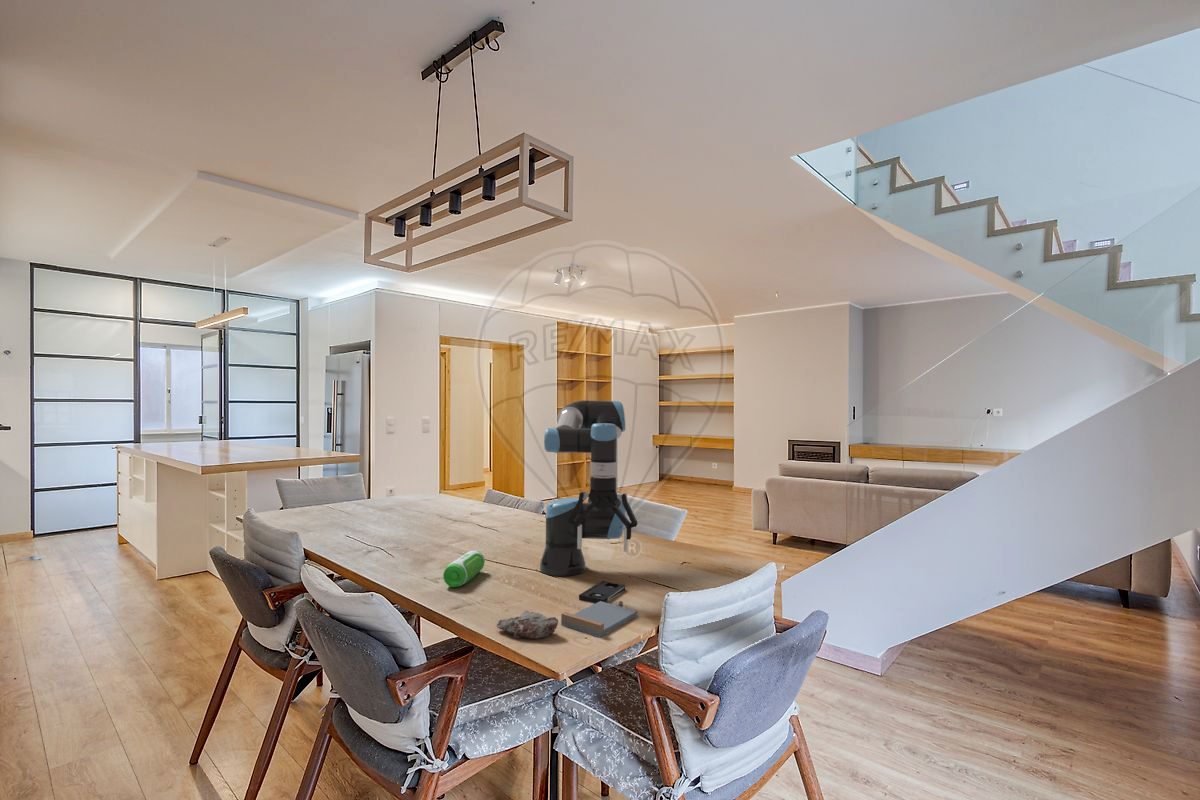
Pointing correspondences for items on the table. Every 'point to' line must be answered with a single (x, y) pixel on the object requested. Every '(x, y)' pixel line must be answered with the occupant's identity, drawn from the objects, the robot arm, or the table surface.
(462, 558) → the speaker
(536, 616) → the mineral rock
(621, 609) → the board
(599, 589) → the vhs tape
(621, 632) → the table surface
